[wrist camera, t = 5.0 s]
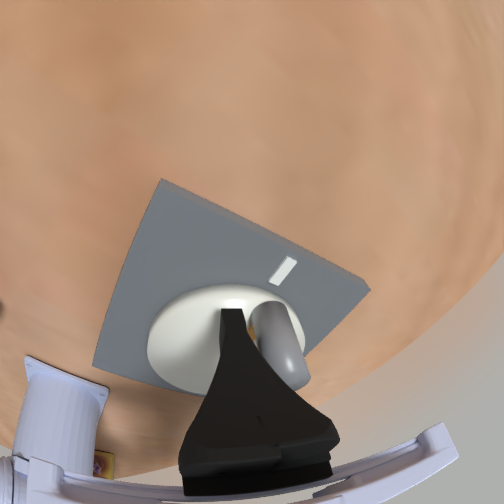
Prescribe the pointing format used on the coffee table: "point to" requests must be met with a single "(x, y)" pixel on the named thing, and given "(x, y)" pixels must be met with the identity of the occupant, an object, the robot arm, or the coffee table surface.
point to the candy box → (103, 465)
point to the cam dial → (207, 335)
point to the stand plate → (212, 277)
